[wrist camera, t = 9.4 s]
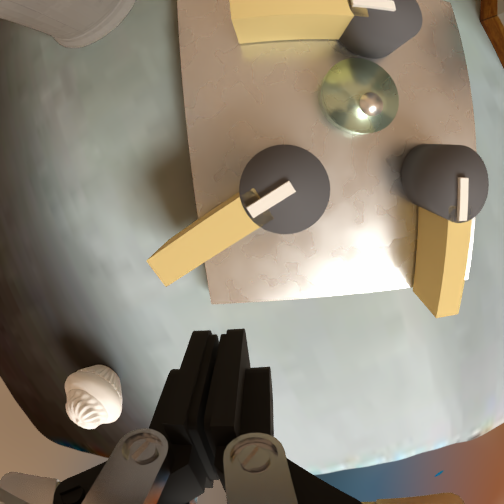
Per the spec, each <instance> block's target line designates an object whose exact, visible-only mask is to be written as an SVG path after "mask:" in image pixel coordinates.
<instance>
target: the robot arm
mask: <svg viewBox="0 0 504 504" xmlns="http://www.w3.org/2000/svg"><path fill="white" fill-rule="evenodd" d="M219 479H220V481H221V483H222V485H223V488H224V490H225V492H226V499H227V504H465V503H464V501H463V500H462V499H461V498H460V496H458V495H456V494H453V493H439V494H432V495H424V496H416V497H406V498H393V499H377V501H376V502H360V501H358V500H357V499H355V498H353V497H351V496H349V495H347V494H345V493H344V492H342V491H340V490H338V489H337V488H335V487H333V486H331V485H329V484H328V483H326V482H324V481H323V480H321V479H319V478H317V477H316V476H314V475H313V474H311V473H309V472H308V471H306V470H304V469H303V468H301V467H300V466H298V465H297V464H295V463H293V462H292V461H290V460H289V459H287V458H286V455H285V451H284V448H283V446H282V444H281V443H280V442H279V441H278V440H277V439H276V438H275V437H274V428H273V395H272V381H271V370H270V367H259V368H250V361H249V354H248V347H247V340H246V333H245V329H230V330H227V334H221V337H220V342H219V340H218V336H217V335H212V333H211V331H210V330H208V331H193V333H192V335H191V338H190V341H189V344H188V347H187V350H186V353H185V356H184V358H183V361H182V364H181V367H180V369H172V370H171V371H170V373H169V375H168V377H167V380H166V383H165V386H164V388H163V391H162V394H161V396H160V399H159V402H158V405H157V407H156V410H155V413H154V416H153V418H152V421H151V424H150V427H149V429H146V428H144V429H137V430H134V431H131V432H129V433H128V434H126V435H125V436H123V438H122V439H121V440H120V441H119V442H118V444H117V446H116V447H115V449H114V451H113V452H112V454H111V456H110V457H109V459H108V460H107V461H106V462H104V463H102V464H100V465H97V466H95V467H93V468H91V469H89V470H86V471H84V472H82V473H80V474H77V475H75V476H72V477H70V478H68V479H66V480H64V481H62V482H60V481H59V480H58V479H54V478H47V477H40V476H34V475H28V474H23V473H18V472H9V473H7V474H5V475H4V476H3V477H2V478H1V480H0V504H197V497H198V496H199V495H201V494H203V493H204V490H205V488H213V480H219Z"/></svg>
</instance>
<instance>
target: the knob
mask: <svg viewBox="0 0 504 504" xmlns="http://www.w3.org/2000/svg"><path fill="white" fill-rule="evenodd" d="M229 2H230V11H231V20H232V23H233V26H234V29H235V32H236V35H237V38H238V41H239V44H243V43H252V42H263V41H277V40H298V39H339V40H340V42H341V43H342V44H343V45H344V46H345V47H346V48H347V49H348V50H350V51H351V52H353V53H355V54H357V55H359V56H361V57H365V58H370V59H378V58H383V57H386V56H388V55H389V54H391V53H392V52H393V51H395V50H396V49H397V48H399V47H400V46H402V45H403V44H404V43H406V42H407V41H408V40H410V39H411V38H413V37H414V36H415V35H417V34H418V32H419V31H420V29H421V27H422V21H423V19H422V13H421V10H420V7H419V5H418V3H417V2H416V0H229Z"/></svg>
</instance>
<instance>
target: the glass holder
mask: <svg viewBox="0 0 504 504" xmlns="http://www.w3.org/2000/svg"><path fill="white" fill-rule="evenodd" d="M135 1H136V0H0V18H2V19H5V20H8V21H12V22H15V23H18V24H21V25H24V26H27V27H29V28H32V29H35V30H38V31H41V32H43V33H46V34H49V35H51V36H53V37H54V38H55V40H56V41H57V42H58V43H59V44H60V45H62V46H65V47H69V48H79V47H83V46H87V45H89V44H92V43H94V42H96V41H98V40H100V39H101V38H103V37H104V36H106V35H107V34H109V33H110V32H111V31H112V30H113V29H115V28H116V27H117V26H118V25H119V24H120V23H121V22H122V21H123V20H124V18H125V17H126V16H127V14H128V13H129V12H130V10H131V9H132V7H133V5H134V4H135Z"/></svg>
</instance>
